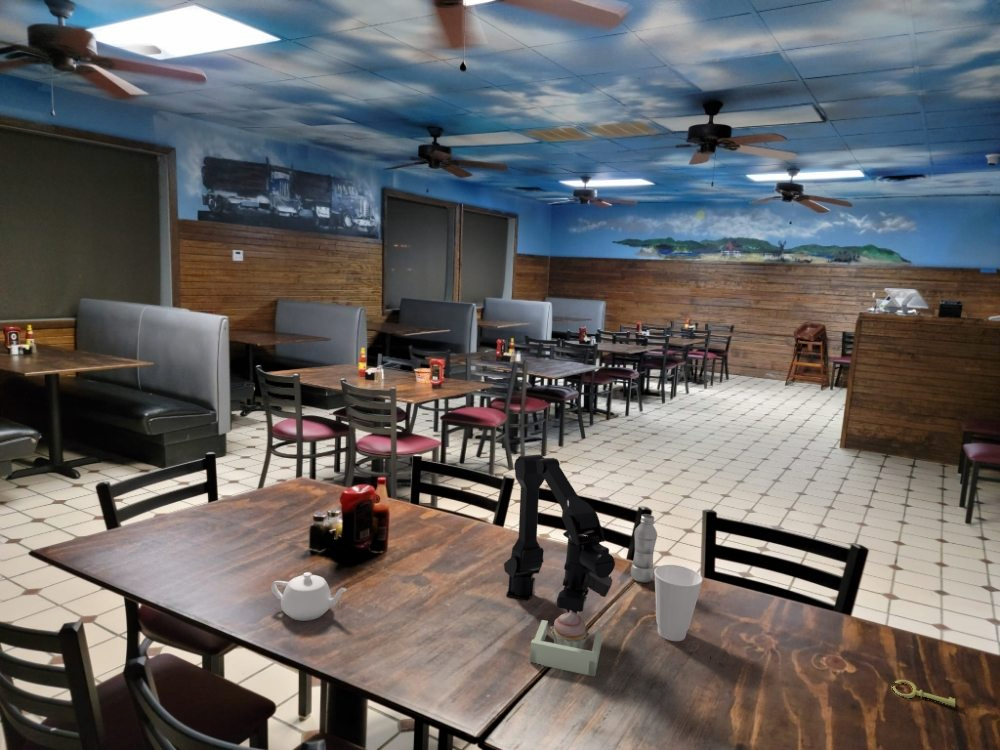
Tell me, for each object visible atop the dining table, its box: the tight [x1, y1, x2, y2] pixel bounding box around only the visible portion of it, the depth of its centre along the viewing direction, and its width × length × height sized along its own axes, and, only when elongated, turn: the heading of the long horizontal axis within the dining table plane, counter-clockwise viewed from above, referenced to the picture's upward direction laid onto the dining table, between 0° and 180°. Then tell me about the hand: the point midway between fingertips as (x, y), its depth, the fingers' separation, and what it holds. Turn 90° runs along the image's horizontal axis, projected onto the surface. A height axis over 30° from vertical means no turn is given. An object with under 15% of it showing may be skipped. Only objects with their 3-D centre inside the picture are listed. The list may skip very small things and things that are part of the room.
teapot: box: [270, 572, 347, 622], centre depth 167 cm, size 20×12×10 cm, turn 79°
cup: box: [653, 564, 704, 642], centre depth 168 cm, size 12×12×16 cm
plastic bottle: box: [630, 513, 658, 584], centre depth 197 cm, size 6×7×20 cm
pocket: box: [529, 619, 603, 677], centre depth 157 cm, size 15×14×5 cm
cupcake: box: [550, 610, 590, 650], centre depth 158 cm, size 9×9×10 cm
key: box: [891, 679, 956, 708], centre depth 151 cm, size 7×12×2 cm, turn 72°
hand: (572, 619), depth 163 cm, fingers closed
